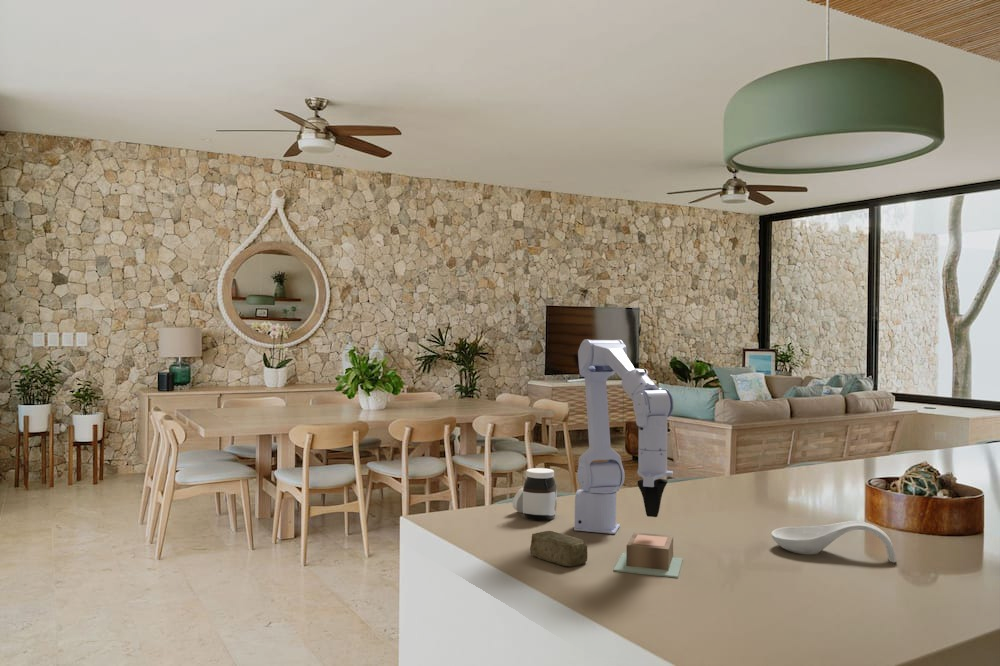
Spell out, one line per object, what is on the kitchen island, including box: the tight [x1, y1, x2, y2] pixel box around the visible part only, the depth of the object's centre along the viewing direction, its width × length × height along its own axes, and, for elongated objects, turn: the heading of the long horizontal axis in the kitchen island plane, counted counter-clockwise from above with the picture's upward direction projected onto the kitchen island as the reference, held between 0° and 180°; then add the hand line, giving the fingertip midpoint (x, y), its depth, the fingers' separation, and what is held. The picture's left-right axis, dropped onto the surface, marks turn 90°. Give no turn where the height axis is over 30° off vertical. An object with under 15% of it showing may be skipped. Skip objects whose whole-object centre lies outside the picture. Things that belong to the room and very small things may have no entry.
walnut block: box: [626, 532, 674, 570], centre depth 147 cm, size 8×4×10 cm
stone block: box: [529, 530, 588, 568], centre depth 149 cm, size 6×12×5 cm, turn 44°
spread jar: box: [512, 467, 558, 522], centre depth 185 cm, size 12×11×12 cm
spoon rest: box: [770, 520, 897, 564], centre depth 155 cm, size 24×12×7 cm, turn 68°
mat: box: [613, 552, 684, 579], centre depth 145 cm, size 12×12×1 cm
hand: (652, 516), depth 150 cm, fingers closed
